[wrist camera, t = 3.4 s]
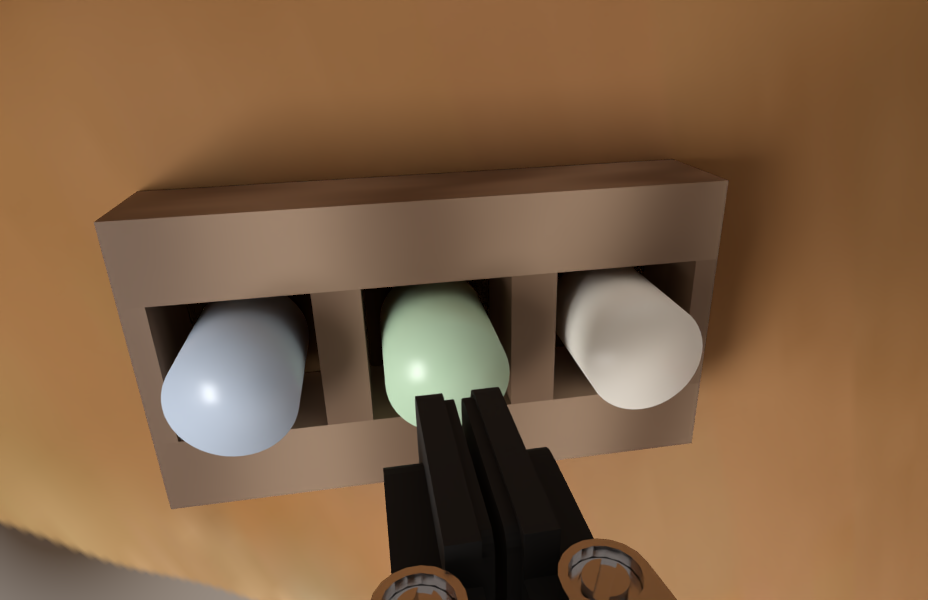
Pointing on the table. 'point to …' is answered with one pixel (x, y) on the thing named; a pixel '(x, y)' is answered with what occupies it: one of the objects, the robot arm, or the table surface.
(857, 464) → the table surface
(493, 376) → the sage button
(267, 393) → the slate blue button
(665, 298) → the cream button
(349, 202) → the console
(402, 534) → the robot arm
